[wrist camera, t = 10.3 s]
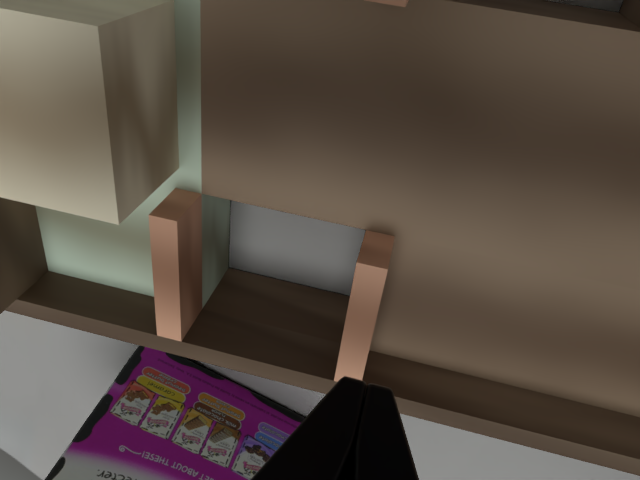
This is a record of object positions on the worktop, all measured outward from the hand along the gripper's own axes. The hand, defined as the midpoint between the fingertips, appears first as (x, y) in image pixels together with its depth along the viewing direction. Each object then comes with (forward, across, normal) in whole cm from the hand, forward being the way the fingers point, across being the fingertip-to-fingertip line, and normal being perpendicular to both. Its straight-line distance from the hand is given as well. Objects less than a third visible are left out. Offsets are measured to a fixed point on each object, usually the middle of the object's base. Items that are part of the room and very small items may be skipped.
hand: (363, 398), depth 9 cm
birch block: (+9, +11, -1) cm, 14 cm away
